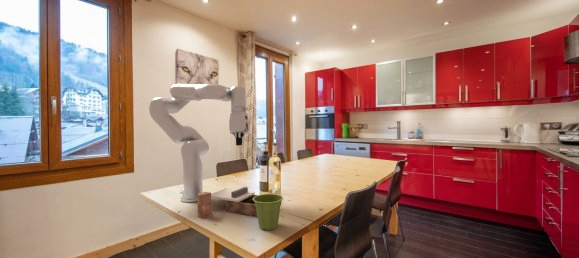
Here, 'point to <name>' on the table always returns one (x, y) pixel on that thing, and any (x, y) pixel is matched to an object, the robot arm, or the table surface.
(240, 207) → the toolbox
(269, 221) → the plant pot
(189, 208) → the table surface
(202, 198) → the salmon orange block
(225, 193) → the toolbox lid
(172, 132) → the robot arm
